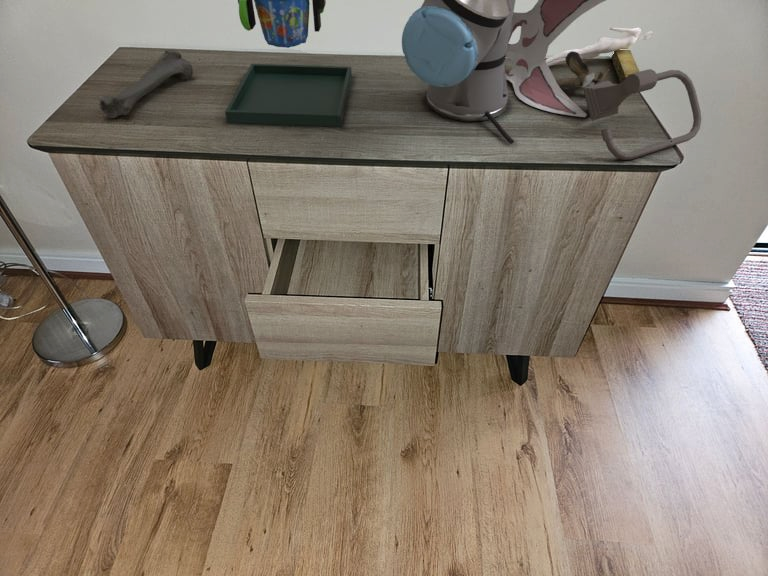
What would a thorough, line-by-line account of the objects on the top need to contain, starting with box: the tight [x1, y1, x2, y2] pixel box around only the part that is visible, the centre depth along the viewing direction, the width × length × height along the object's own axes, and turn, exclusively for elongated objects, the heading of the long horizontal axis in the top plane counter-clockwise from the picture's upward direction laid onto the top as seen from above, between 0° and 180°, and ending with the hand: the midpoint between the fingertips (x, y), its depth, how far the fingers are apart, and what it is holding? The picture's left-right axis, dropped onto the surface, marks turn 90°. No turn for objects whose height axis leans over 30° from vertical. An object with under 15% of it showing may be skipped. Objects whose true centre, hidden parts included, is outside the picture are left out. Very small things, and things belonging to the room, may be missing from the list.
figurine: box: [545, 27, 654, 67], centre depth 110 cm, size 10×4×25 cm
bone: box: [98, 48, 194, 119], centre depth 98 cm, size 22×6×6 cm, turn 159°
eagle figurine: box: [556, 52, 610, 90], centre depth 102 cm, size 8×7×9 cm
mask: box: [505, 0, 607, 118], centre depth 103 cm, size 23×12×30 cm
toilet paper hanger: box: [582, 68, 702, 161], centre depth 91 cm, size 22×11×15 cm
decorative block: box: [610, 49, 641, 83], centre depth 109 cm, size 15×2×4 cm
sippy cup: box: [238, 0, 325, 49], centre depth 89 cm, size 16×10×10 cm
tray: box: [224, 63, 353, 128], centre depth 99 cm, size 20×20×2 cm
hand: (285, 27), depth 91 cm, fingers closed on sippy cup, 11 cm apart
